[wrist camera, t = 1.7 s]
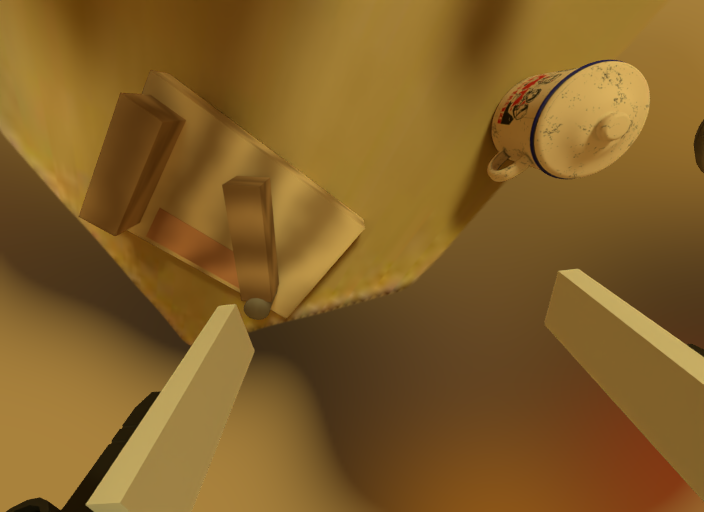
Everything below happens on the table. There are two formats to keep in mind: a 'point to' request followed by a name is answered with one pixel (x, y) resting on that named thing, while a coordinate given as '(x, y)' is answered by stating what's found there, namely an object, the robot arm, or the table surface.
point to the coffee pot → (699, 147)
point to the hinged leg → (253, 241)
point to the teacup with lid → (569, 120)
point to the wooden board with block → (208, 190)
